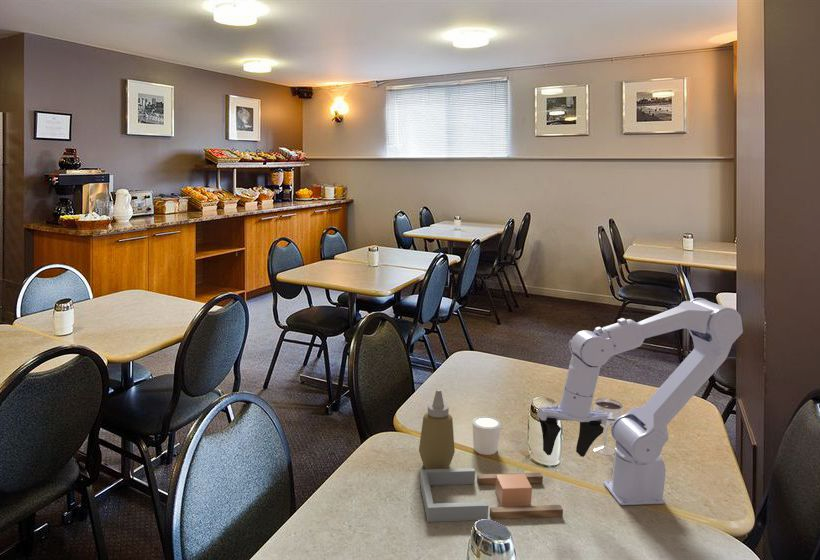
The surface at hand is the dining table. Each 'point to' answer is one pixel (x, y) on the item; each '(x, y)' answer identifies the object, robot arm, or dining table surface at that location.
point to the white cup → (486, 434)
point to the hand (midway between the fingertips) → (563, 453)
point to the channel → (520, 510)
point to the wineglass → (613, 412)
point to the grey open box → (450, 509)
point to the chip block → (513, 489)
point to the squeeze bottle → (437, 435)
